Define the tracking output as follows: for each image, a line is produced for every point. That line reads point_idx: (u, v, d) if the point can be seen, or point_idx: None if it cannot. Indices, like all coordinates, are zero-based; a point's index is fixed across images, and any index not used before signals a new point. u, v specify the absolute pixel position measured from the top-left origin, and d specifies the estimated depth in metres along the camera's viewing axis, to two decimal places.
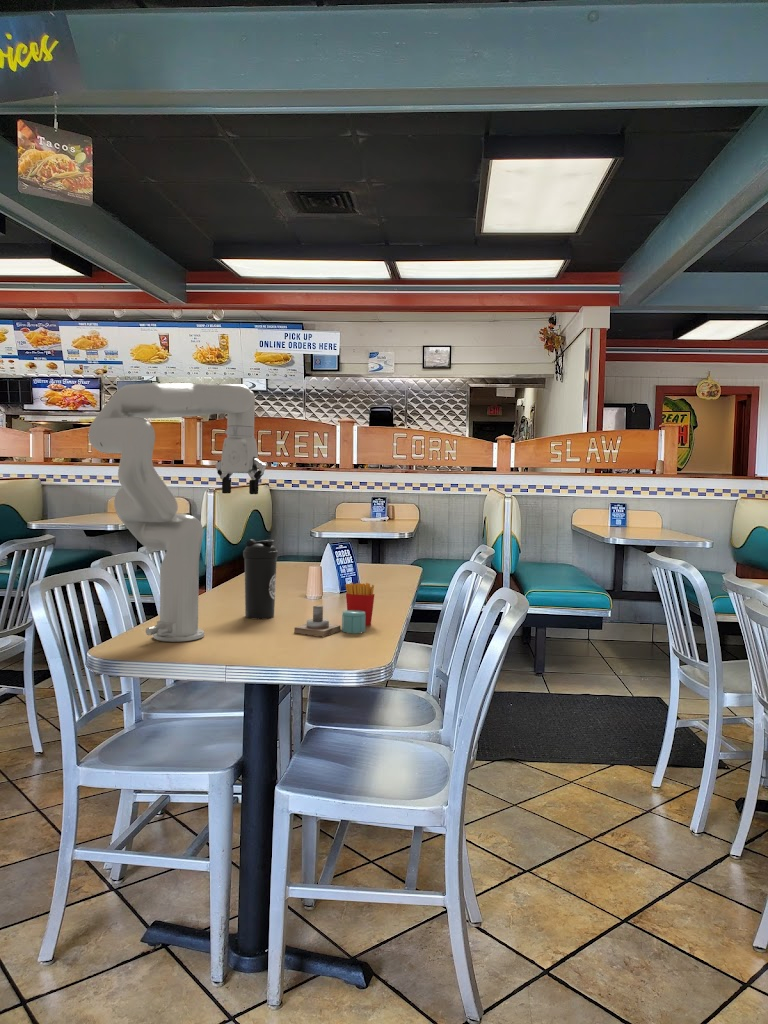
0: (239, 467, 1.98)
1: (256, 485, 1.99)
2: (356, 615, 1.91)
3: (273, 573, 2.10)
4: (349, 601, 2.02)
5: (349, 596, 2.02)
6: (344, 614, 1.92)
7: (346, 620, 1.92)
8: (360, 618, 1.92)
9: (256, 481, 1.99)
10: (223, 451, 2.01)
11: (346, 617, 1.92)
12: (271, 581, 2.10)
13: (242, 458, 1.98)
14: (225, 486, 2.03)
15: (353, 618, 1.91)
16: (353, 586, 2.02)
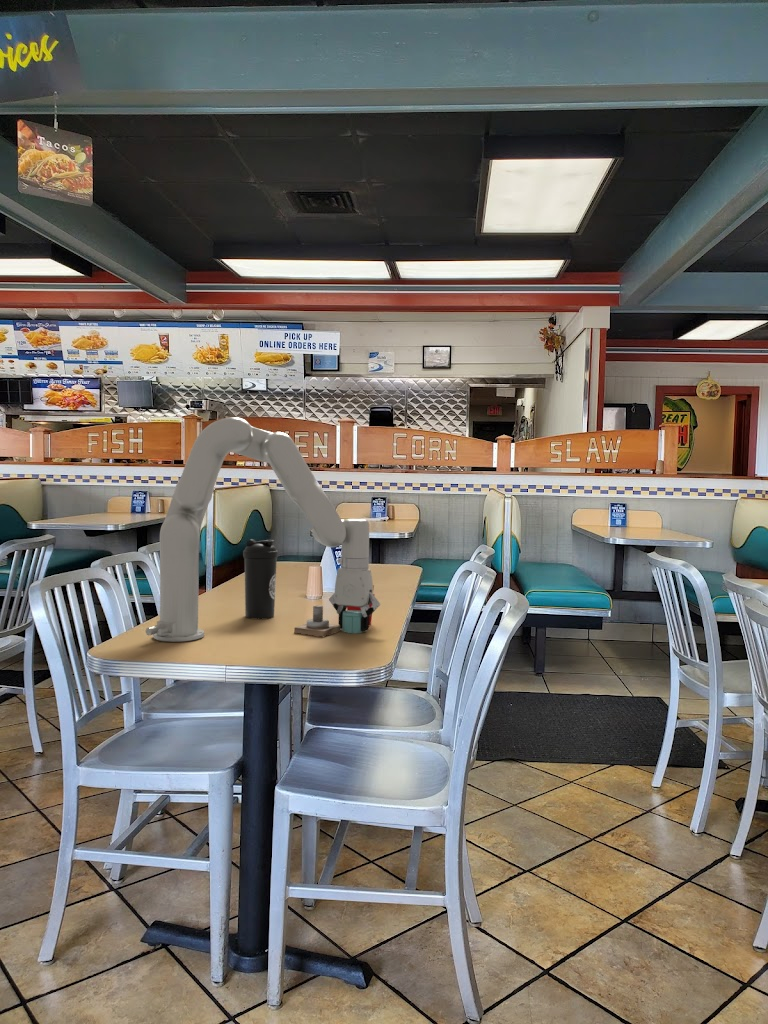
0: (355, 601, 1.91)
1: (367, 622, 1.92)
2: (356, 615, 1.91)
3: (273, 573, 2.10)
4: None
5: None
6: (344, 614, 1.92)
7: (346, 620, 1.92)
8: (360, 618, 1.92)
9: (367, 618, 1.92)
10: (337, 582, 1.93)
11: (346, 617, 1.92)
12: (271, 581, 2.10)
13: (358, 592, 1.90)
14: None
15: (353, 618, 1.91)
16: None
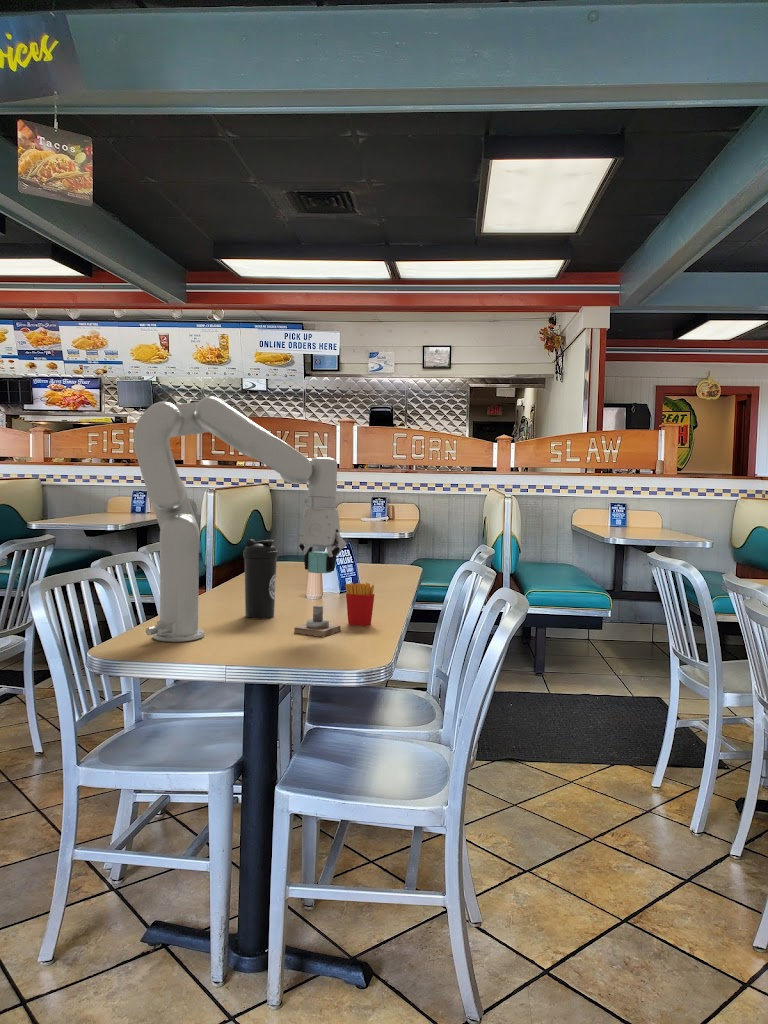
0: (321, 540, 1.88)
1: (333, 562, 1.89)
2: (322, 555, 1.88)
3: (273, 573, 2.10)
4: (349, 601, 2.02)
5: (349, 596, 2.02)
6: (310, 554, 1.89)
7: (312, 560, 1.89)
8: (326, 558, 1.89)
9: (333, 558, 1.89)
10: (303, 522, 1.90)
11: (312, 557, 1.89)
12: (271, 581, 2.10)
13: (324, 531, 1.87)
14: None
15: (319, 558, 1.88)
16: (353, 586, 2.02)
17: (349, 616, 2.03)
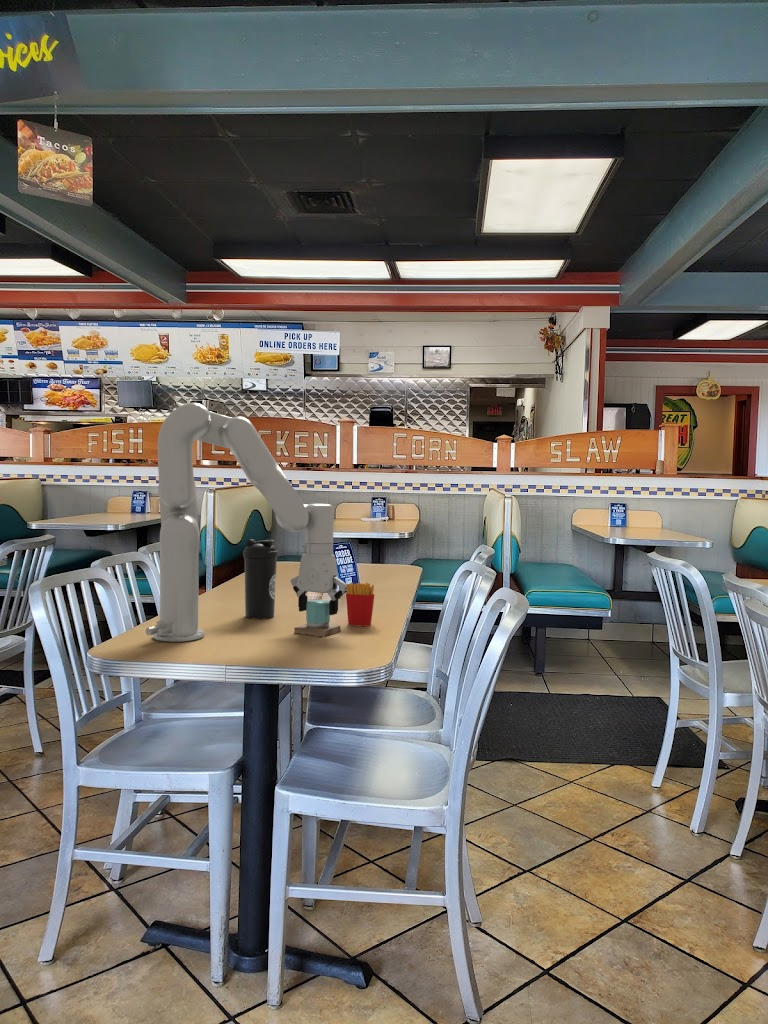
0: (318, 587, 1.88)
1: (336, 605, 1.89)
2: (320, 605, 1.89)
3: (273, 573, 2.10)
4: (349, 601, 2.02)
5: (349, 596, 2.02)
6: (308, 604, 1.90)
7: (310, 610, 1.89)
8: (324, 608, 1.89)
9: (336, 601, 1.89)
10: (300, 568, 1.91)
11: (310, 607, 1.89)
12: (271, 581, 2.10)
13: (322, 578, 1.88)
14: (302, 604, 1.93)
15: (317, 608, 1.89)
16: (353, 586, 2.02)
17: (349, 616, 2.03)
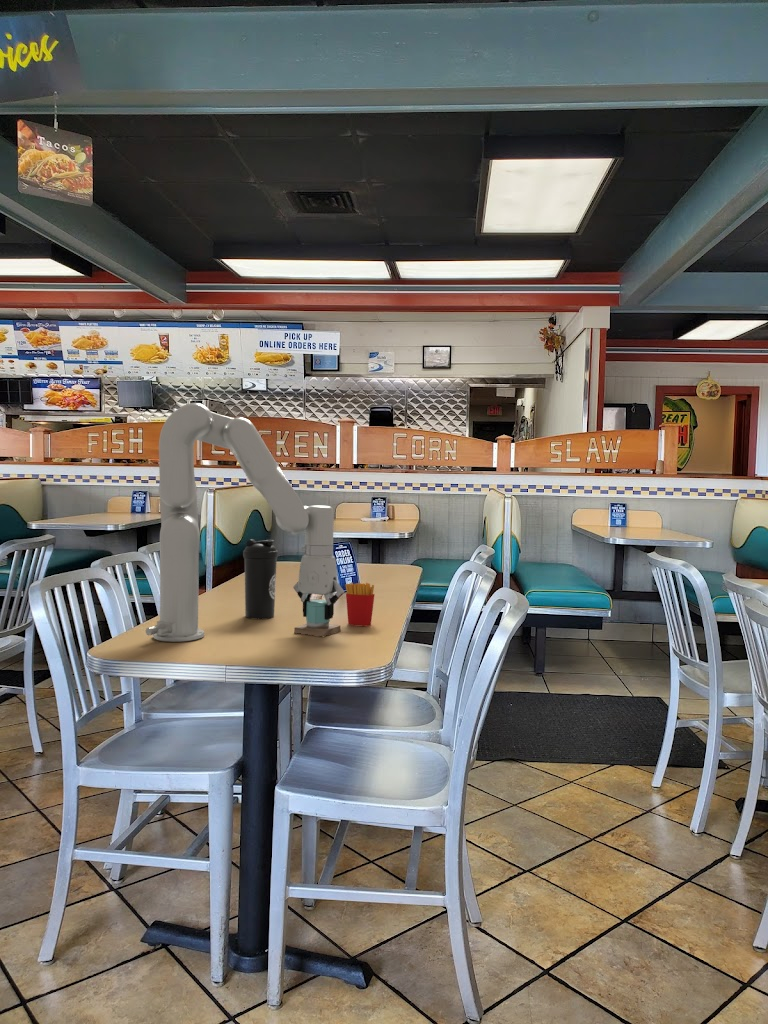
0: (319, 588, 1.88)
1: (331, 610, 1.90)
2: (320, 605, 1.89)
3: (273, 573, 2.10)
4: (349, 601, 2.02)
5: (349, 596, 2.02)
6: (308, 604, 1.90)
7: (310, 610, 1.89)
8: (324, 608, 1.89)
9: (331, 605, 1.90)
10: (301, 570, 1.91)
11: (310, 607, 1.89)
12: (271, 581, 2.10)
13: (322, 579, 1.88)
14: None
15: (317, 608, 1.89)
16: (353, 586, 2.02)
17: (349, 616, 2.03)
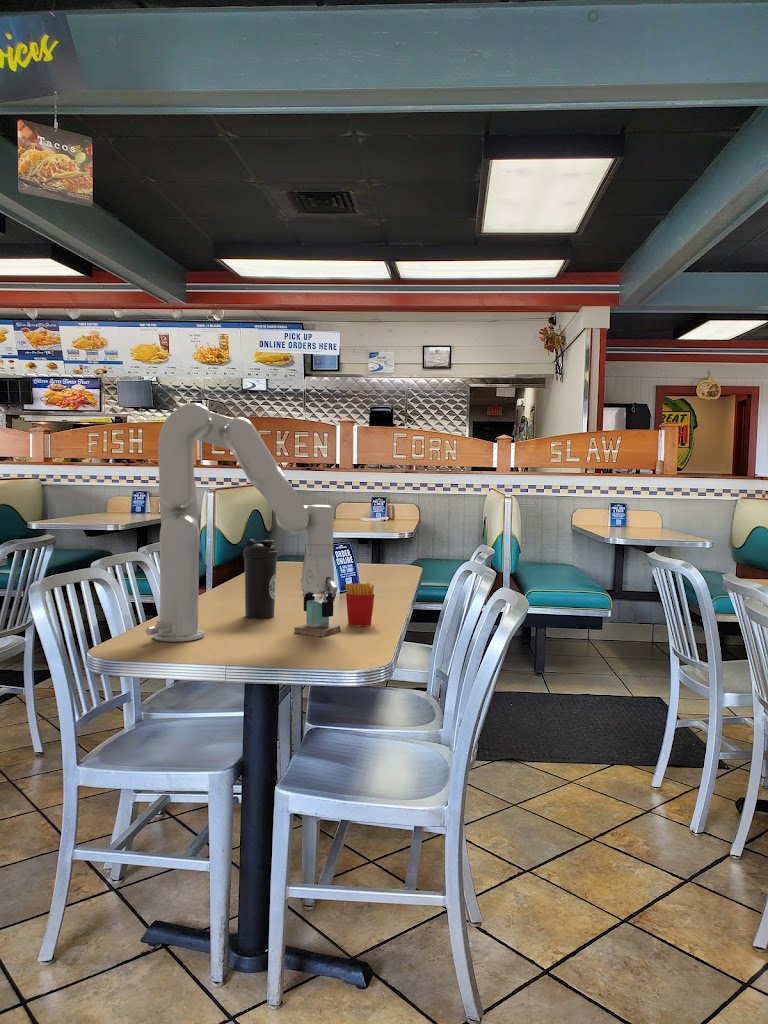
0: (313, 588, 1.88)
1: (329, 607, 1.87)
2: (309, 604, 1.90)
3: (273, 573, 2.10)
4: (349, 601, 2.02)
5: (349, 596, 2.02)
6: None
7: None
8: (312, 608, 1.89)
9: (329, 603, 1.87)
10: (303, 568, 1.93)
11: None
12: (271, 581, 2.10)
13: (315, 579, 1.87)
14: (306, 604, 1.95)
15: (307, 607, 1.90)
16: (353, 586, 2.02)
17: (349, 616, 2.03)
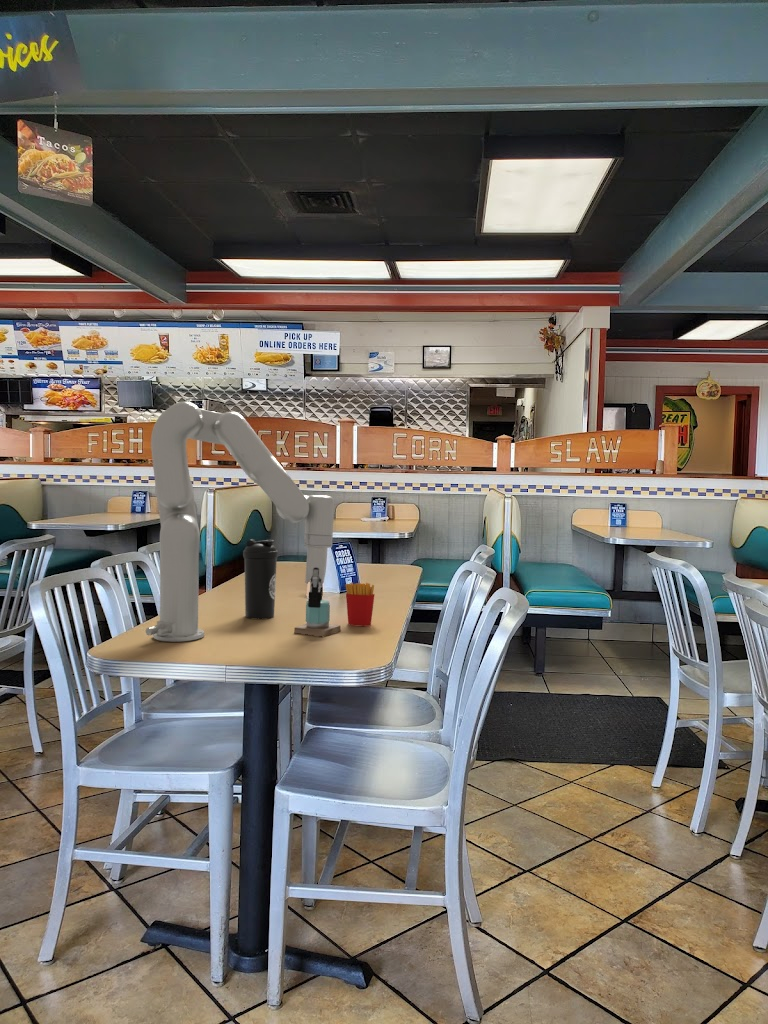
0: None
1: (314, 598, 1.86)
2: None
3: (273, 573, 2.10)
4: (349, 601, 2.02)
5: (349, 596, 2.02)
6: None
7: None
8: (306, 606, 1.91)
9: (314, 594, 1.86)
10: None
11: None
12: (271, 581, 2.10)
13: None
14: None
15: None
16: (353, 586, 2.02)
17: (349, 616, 2.03)
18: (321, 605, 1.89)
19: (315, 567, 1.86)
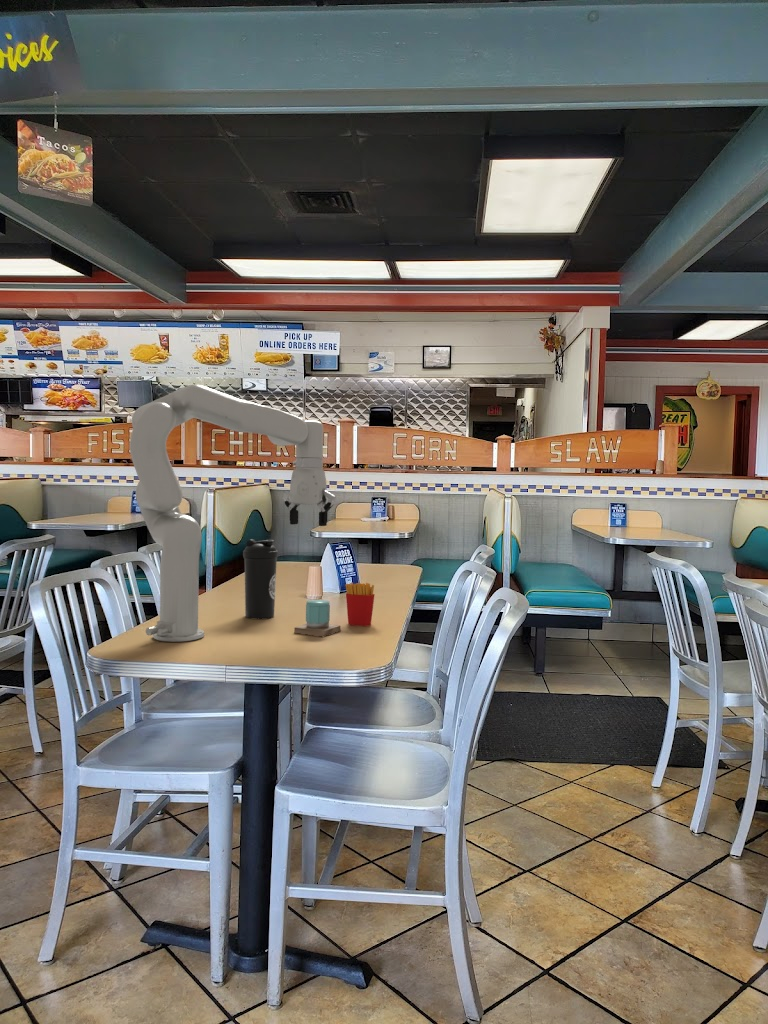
0: (309, 499, 1.98)
1: (325, 517, 1.99)
2: None
3: (273, 573, 2.10)
4: (349, 601, 2.02)
5: (349, 596, 2.02)
6: None
7: None
8: (306, 606, 1.91)
9: (325, 513, 1.98)
10: (292, 482, 2.00)
11: None
12: (271, 581, 2.10)
13: (312, 490, 1.97)
14: (293, 517, 2.02)
15: None
16: (353, 586, 2.02)
17: (349, 616, 2.03)
18: (321, 605, 1.89)
19: (323, 488, 1.99)
